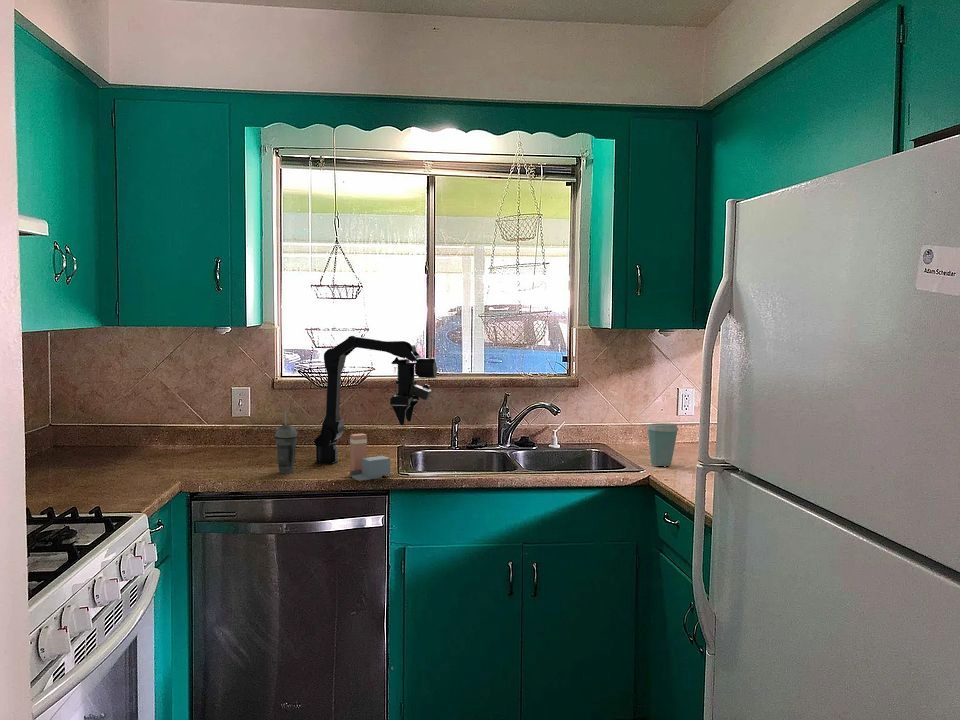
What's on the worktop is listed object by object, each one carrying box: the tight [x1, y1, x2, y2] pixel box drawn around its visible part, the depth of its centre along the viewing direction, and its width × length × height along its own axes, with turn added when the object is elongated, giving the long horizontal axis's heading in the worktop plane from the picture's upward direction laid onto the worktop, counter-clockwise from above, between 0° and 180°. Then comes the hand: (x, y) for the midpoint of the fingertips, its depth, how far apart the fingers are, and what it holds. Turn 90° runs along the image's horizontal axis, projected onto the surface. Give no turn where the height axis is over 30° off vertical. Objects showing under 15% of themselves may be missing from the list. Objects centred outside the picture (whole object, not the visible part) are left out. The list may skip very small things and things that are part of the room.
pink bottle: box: [349, 433, 368, 472], centre depth 249 cm, size 3×4×13 cm
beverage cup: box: [274, 410, 299, 474], centre depth 252 cm, size 7×7×20 cm
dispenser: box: [349, 455, 391, 482], centre depth 246 cm, size 6×11×6 cm, turn 126°
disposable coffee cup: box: [646, 422, 679, 467], centre depth 270 cm, size 11×11×15 cm
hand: (405, 423), depth 264 cm, fingers open, 9 cm apart
